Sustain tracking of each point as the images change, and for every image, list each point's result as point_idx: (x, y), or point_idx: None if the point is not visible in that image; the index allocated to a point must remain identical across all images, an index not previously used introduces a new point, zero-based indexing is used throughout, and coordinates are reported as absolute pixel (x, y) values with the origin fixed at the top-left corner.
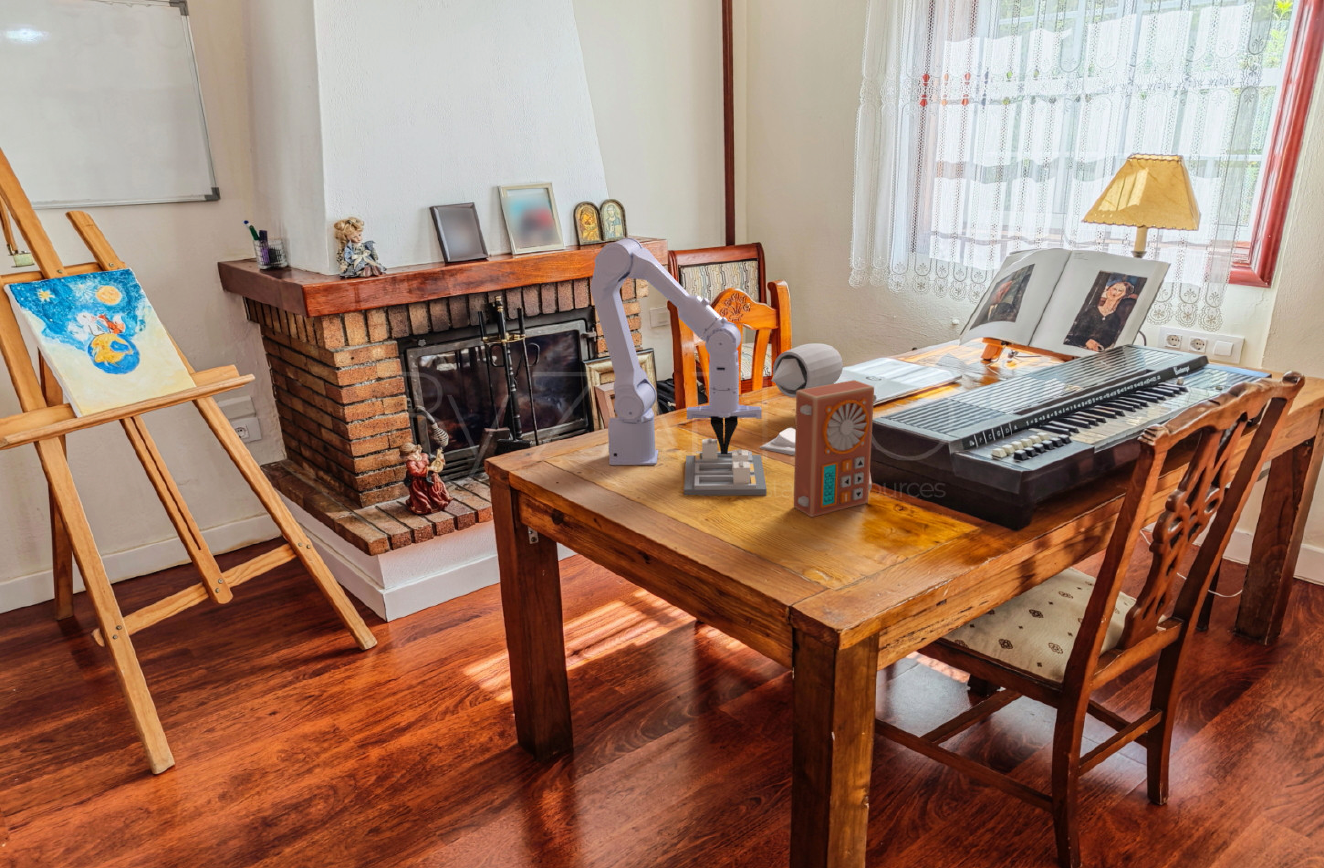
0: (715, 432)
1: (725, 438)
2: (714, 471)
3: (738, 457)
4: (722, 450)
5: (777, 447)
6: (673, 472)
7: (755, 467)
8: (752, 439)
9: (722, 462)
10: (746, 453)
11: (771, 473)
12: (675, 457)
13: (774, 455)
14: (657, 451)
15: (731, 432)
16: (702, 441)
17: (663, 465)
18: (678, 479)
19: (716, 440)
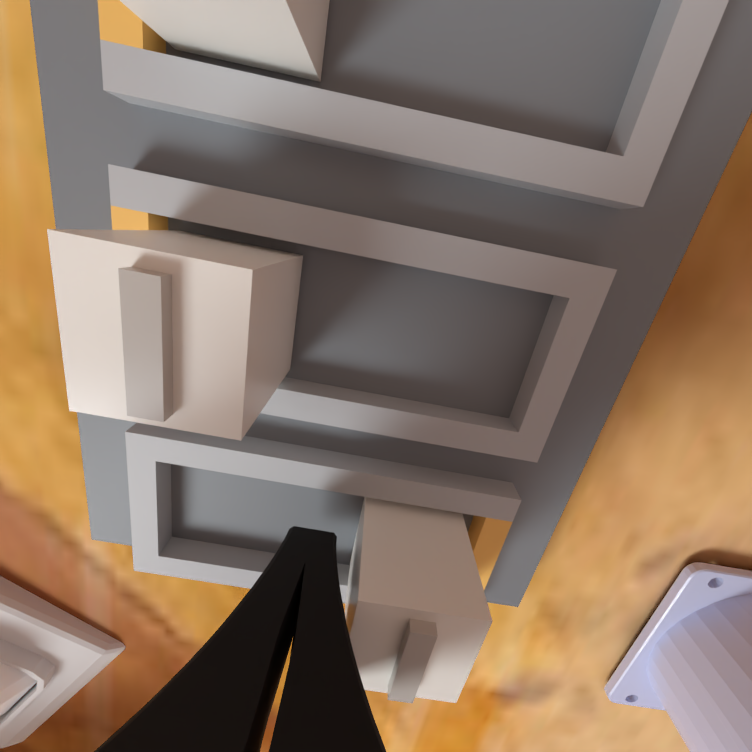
0: (377, 744)
1: (270, 642)
2: (450, 262)
3: (188, 250)
4: (322, 549)
5: (17, 622)
6: (635, 454)
7: None
8: None
9: (340, 460)
10: (75, 303)
11: (45, 319)
12: (543, 624)
13: (44, 560)
14: (619, 684)
15: (164, 712)
16: (469, 668)
17: (644, 551)
18: (655, 342)
19: None
